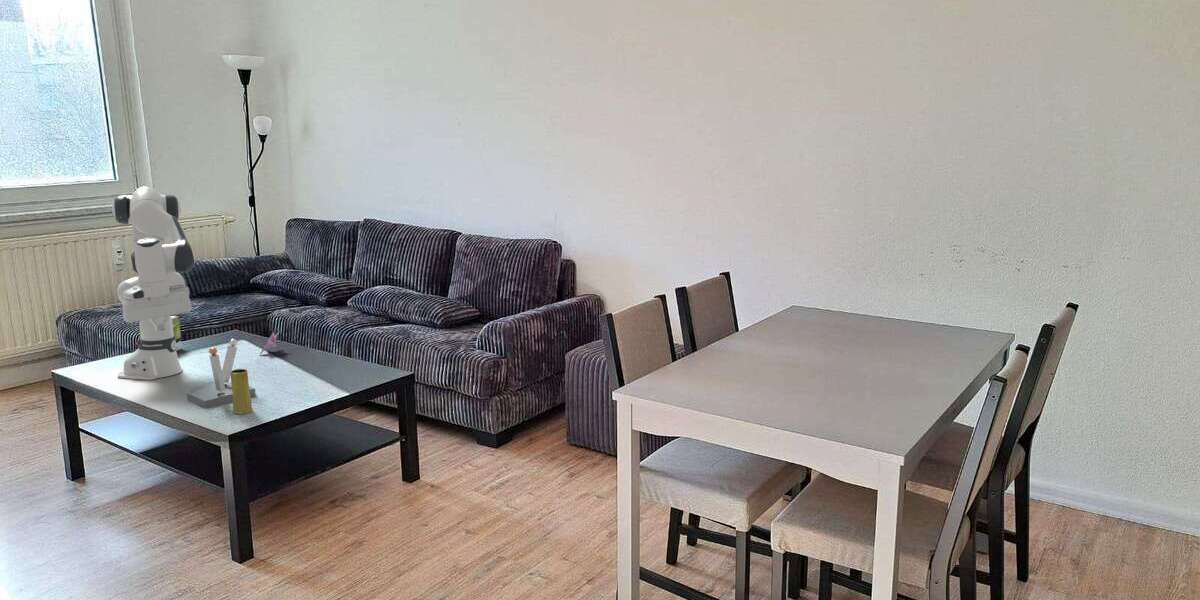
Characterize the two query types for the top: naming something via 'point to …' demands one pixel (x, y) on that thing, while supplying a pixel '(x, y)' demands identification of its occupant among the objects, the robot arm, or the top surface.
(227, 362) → the switch
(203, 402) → the console
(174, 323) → the tea box
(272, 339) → the lily
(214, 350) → the switch
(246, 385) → the vase
